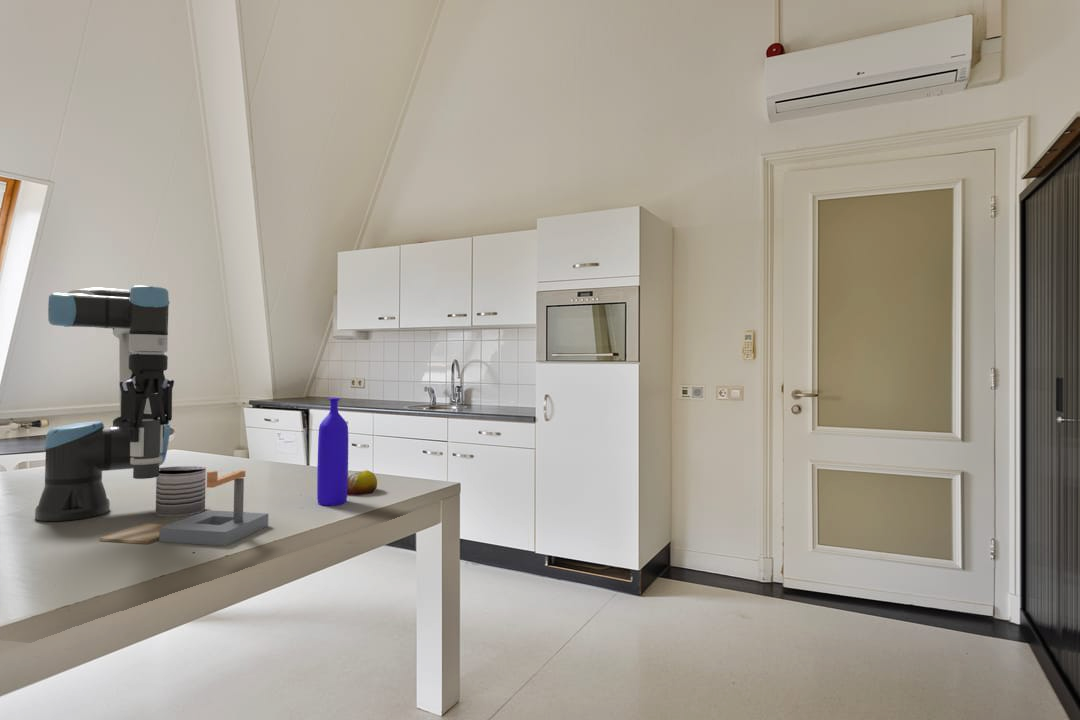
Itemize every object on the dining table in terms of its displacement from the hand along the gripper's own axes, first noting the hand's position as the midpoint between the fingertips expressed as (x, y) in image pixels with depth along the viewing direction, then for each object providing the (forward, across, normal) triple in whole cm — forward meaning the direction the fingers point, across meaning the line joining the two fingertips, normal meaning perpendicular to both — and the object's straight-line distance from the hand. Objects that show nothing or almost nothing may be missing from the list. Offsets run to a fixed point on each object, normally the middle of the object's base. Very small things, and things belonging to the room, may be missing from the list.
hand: (146, 454), depth 137 cm
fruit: (+19, +52, -28) cm, 62 cm away
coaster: (+19, 0, 0) cm, 19 cm away
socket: (+19, +4, -15) cm, 24 cm away
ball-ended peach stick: (+5, -1, -21) cm, 22 cm away
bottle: (+19, +37, -27) cm, 50 cm away
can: (+19, +20, +7) cm, 28 cm away
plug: (+5, 0, 0) cm, 5 cm away
